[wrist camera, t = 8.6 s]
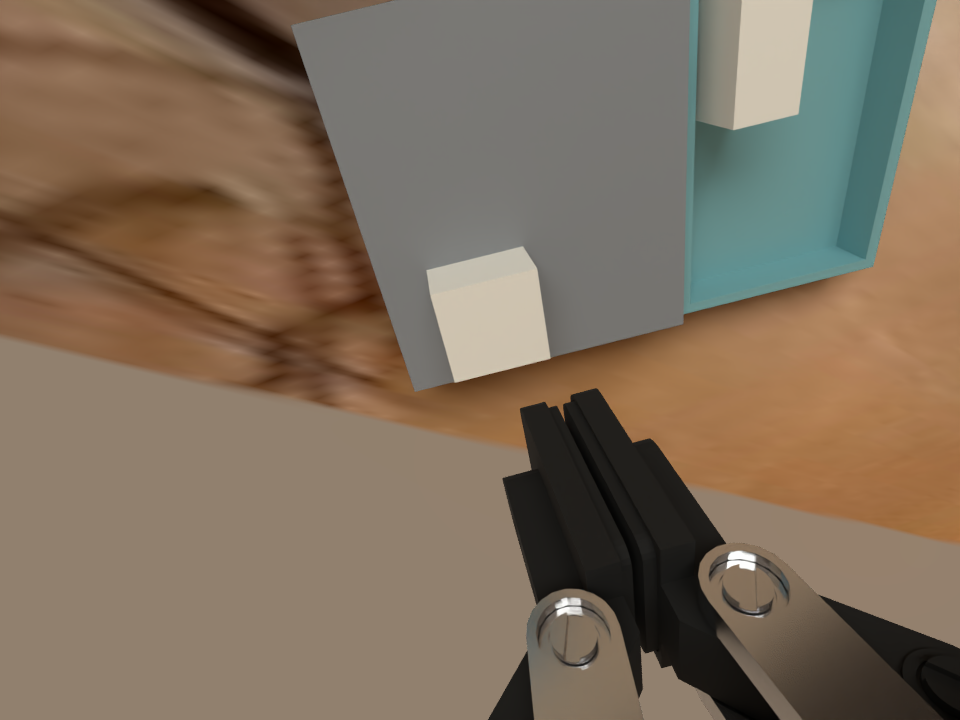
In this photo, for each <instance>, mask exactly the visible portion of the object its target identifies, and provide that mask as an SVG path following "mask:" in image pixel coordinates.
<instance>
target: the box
mask: <svg viewBox="0 0 960 720" xmlns="http://www.w3.org/2000/svg"><path fill="white" fill-rule="evenodd" d="M936 1H937V0H813V6H812V13H811V21H810V29H809V36H808V44H807V52H806V59H805V67H804V75H803V82H802V90H801V98H800V106H799V113H798V114H797V115H793V116H789V117H785V118H781V119H777V120H773V121H769V122H765V123H761V124H757V125H753V126H749V127H744V128H740V129H736V130H730V129H727V128H723V127H719V126H715V125H711V124H708V123H704V122H700V121H696V120H695V117H696V82H697V47H698V12H699V0H690V30H689V78H688V125H687V173H686V220H685V268H684V314H687V313H690V312H694V311H698V310H702V309H706V308H710V307H714V306H718V305H722V304H726V303H730V302H734V301H738V300H742V299H746V298H750V297H754V296H758V295H762V294H766V293H770V292H774V291H778V290H782V289H786V288H790V287H794V286H798V285H802V284H806V283H810V282H814V281H818V280H822V279H826V278H830V277H834V276H837V275H841V274H845V273H849V272H853V271H857V270H861V269H865V268H869V267H873V265H874V261H875V257H876V252H877V248H878V244H879V240H880V236H881V231H882V227H883V223H884V219H885V215H886V210H887V206H888V202H889V198H890V194H891V190H892V185H893V181H894V177H895V173H896V169H897V164H898V160H899V156H900V152H901V148H902V144H903V139H904V135H905V131H906V127H907V123H908V118H909V114H910V110H911V106H912V102H913V98H914V93H915V89H916V85H917V81H918V77H919V72H920V68H921V64H922V60H923V56H924V51H925V47H926V43H927V39H928V35H929V31H930V26H931V22H932V18H933V14H934V10H935V5H936Z"/></svg>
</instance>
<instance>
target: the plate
mask: <svg viewBox="0 0 960 720" xmlns="http://www.w3.org/2000/svg"><path fill="white" fill-rule="evenodd" d="M291 28H292V30H293V33H294V36H295V39H296V42H297V45H298V48H299V51H300V54H301V57H302V60H303V63H304V66H305V69H306V72H307V75H308V78H309V81H310V84H311V86H312V89H313V92H314V95H315V98H316V101H317V104H318V107H319V110H320V113H321V116H322V119H323V122H324V125H325V128H326V131H327V134H328V137H329V140H330V142H331V145H332V148H333V151H334V154H335V157H336V160H337V163H338V166H339V169H340V172H341V175H342V178H343V181H344V184H345V187H346V190H347V193H348V196H349V198H350V201H351V204H352V207H353V210H354V213H355V216H356V219H357V222H358V225H359V228H360V231H361V234H362V237H363V240H364V243H365V246H366V249H367V252H368V254H369V257H370V260H371V263H372V266H373V269H374V272H375V275H376V278H377V281H378V284H379V287H380V290H381V293H382V296H383V299H384V302H385V305H386V308H387V310H388V313H389V316H390V319H391V322H392V325H393V328H394V331H395V334H396V337H397V340H398V343H399V346H400V349H401V352H402V355H403V358H404V361H405V363H406V366H407V369H408V372H409V375H410V378H411V381H412V384H413V387H414V390H415V392H416V391H420V390H424V389H428V388H432V387H436V386H440V385H444V384H448V383H452V382H455V381H454V378H453V374H452V371H451V367H450V364H449V360H448V357H447V353H446V349H445V346H444V342H443V339H442V335H441V332H440V328H439V325H438V321H437V318H436V314H435V310H434V307H433V303H432V300H431V296H430V291H429V284H428V277H427V271H426V270H429V269H433V268H437V267H442V266H446V265H450V264H454V263H458V262H462V261H466V260H470V259H474V258H478V257H482V256H486V255H490V254H494V253H498V252H502V251H506V250H510V249H514V248H518V247H522V246H523V247H524V249H525V250H526V252H527V253H528V255H529V257H530V258H531V260H532V261H533V263H534V264H535V266H536V268H537V271H538V278H539V284H540V291H541V298H542V304H543V311H544V318H545V324H546V331H547V338H548V344H549V351H550V358H551V357H555V356H559V355H563V354H567V353H571V352H575V351H579V350H583V349H587V348H591V347H594V346H598V345H602V344H606V343H610V342H614V341H618V340H622V339H626V338H630V337H634V336H638V335H642V334H646V333H650V332H654V331H658V330H662V329H666V328H670V327H674V326H678V325H682V324H683V315H684V268H685V220H686V173H687V125H688V78H689V30H690V0H394V1H390V2H385V3H381V4H377V5H373V6H369V7H365V8H361V9H356V10H352V11H348V12H344V13H340V14H336V15H331V16H327V17H323V18H319V19H315V20H311V21H306V22H302V23H298V24H294V25H291Z"/></svg>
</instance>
